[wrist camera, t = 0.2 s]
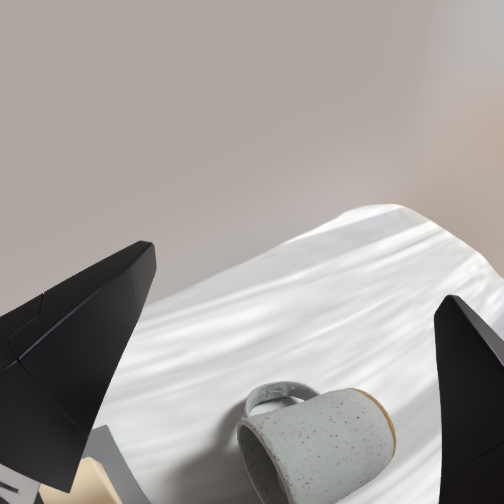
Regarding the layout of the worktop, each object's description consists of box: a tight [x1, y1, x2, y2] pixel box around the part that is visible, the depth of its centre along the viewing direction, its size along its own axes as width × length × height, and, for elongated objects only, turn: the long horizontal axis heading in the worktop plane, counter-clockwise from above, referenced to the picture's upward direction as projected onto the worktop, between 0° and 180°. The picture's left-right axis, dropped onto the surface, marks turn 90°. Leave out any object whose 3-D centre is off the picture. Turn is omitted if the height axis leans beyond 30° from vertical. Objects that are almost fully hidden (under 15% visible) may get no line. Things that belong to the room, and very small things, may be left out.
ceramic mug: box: [237, 381, 396, 504], centre depth 16 cm, size 11×8×8 cm
